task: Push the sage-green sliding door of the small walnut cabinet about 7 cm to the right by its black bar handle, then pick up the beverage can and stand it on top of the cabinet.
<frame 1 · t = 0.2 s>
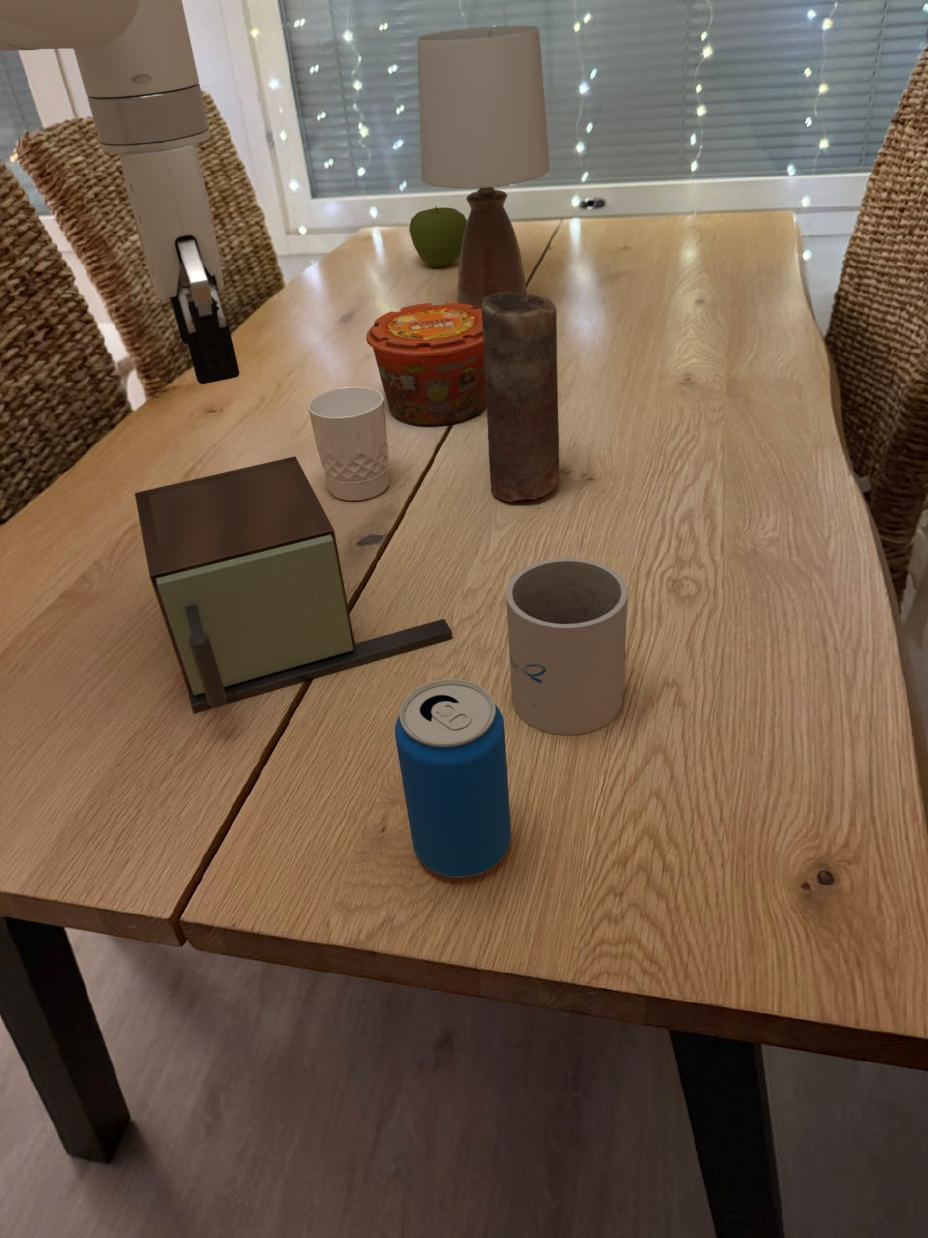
hand: (209, 358, 74), 22 cm above the table, tool pointing down, fingers open, 9 cm apart
apple: (441, 265, 167), on the table
white cup: (359, 488, 101), on the table
door: (267, 635, 70), point 6 cm above the table, slide at 0.0 cm
lamp: (492, 308, 146), on the table
candle: (525, 489, 98), on the table
cabinet: (259, 627, 82), on the table
beverage can: (462, 846, 61), on the table
mug: (562, 682, 73), on the table
food container: (439, 406, 117), on the table
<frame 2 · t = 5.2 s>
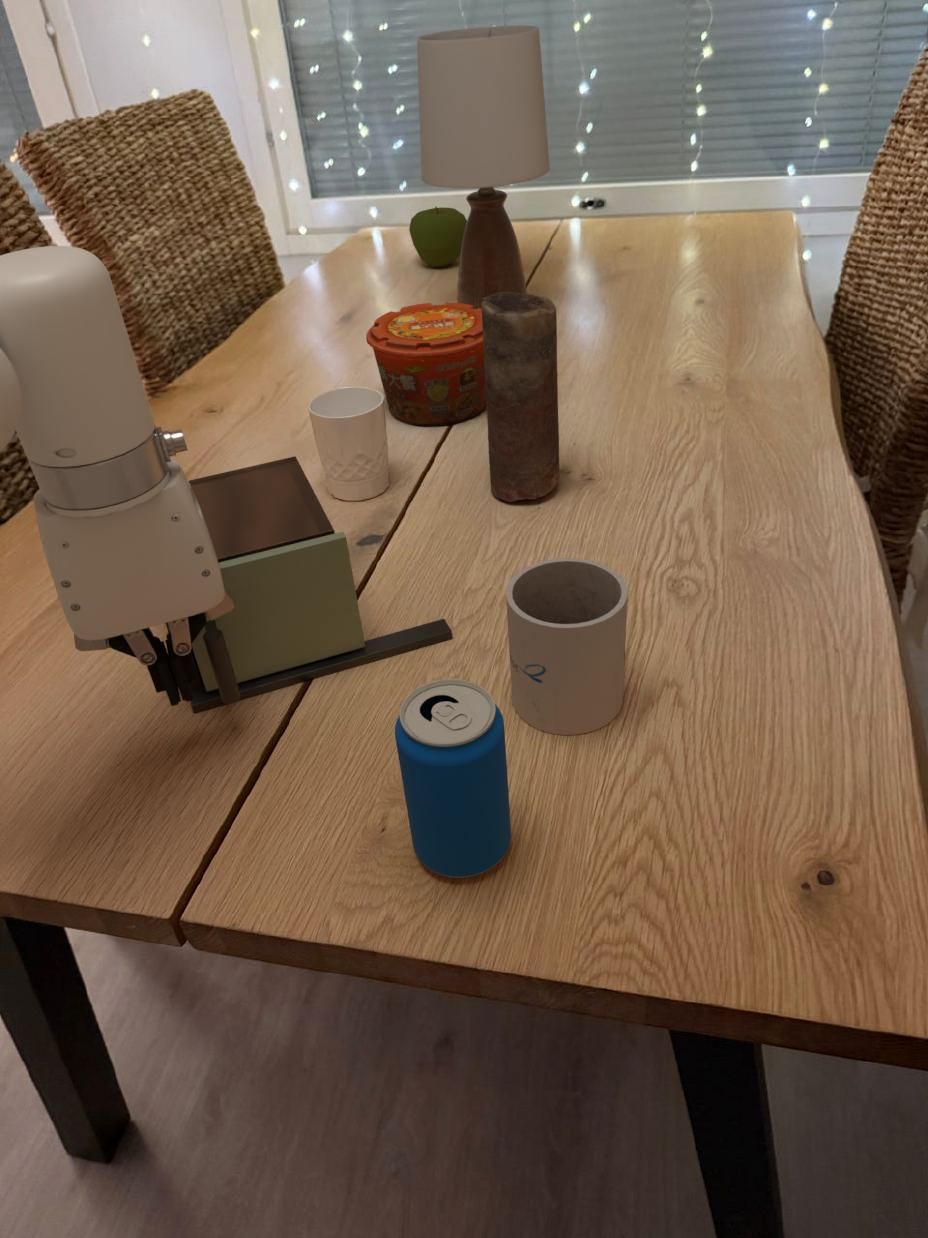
hand: (180, 691, 67), 5 cm above the table, tool pointing down, fingers closed
door: (280, 631, 70), point 6 cm above the table, slide at 1.0 cm, touching gripper
everything else where it was.
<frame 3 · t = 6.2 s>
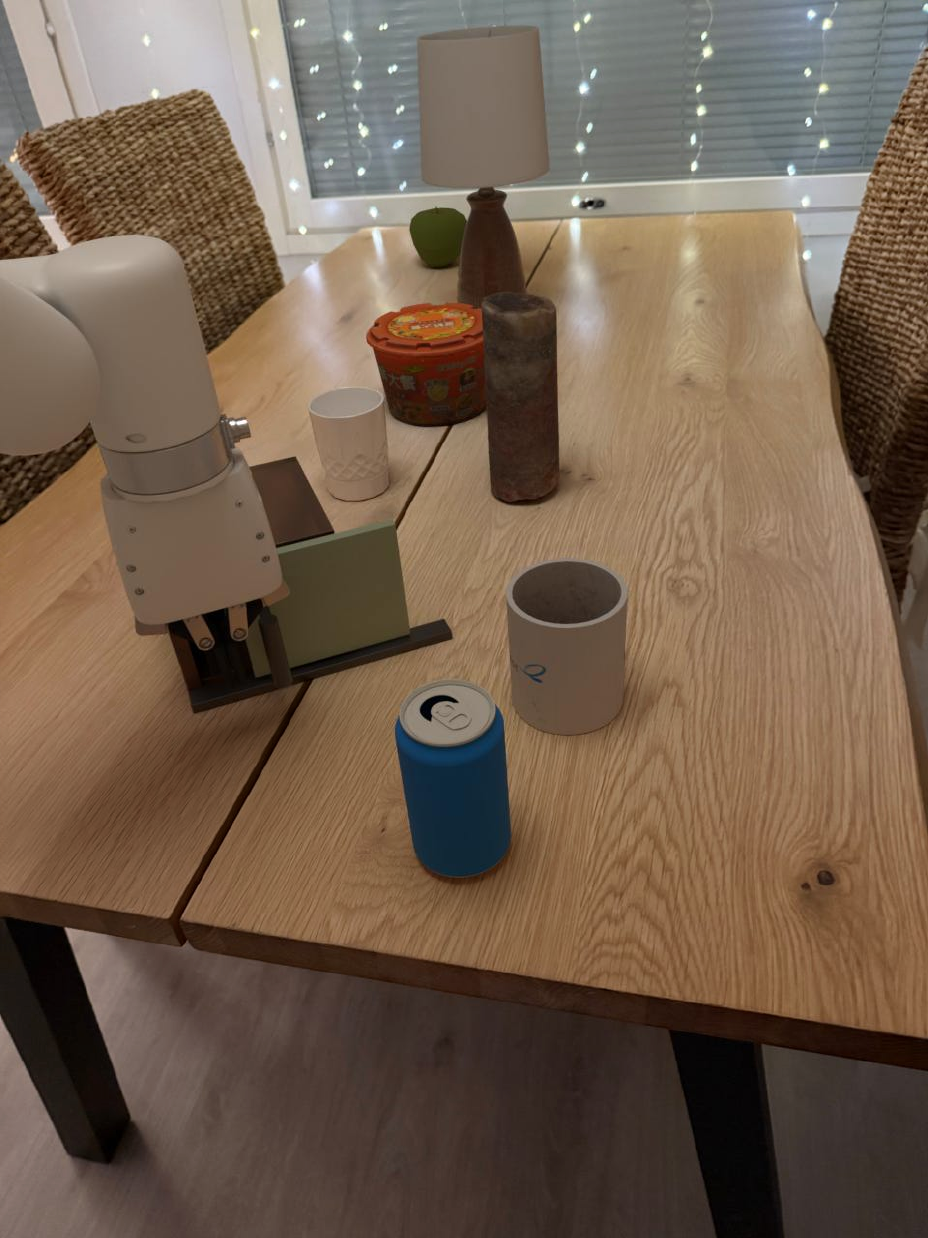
hand: (234, 676, 68), 5 cm above the table, tool pointing down, fingers closed
door: (330, 617, 71), point 6 cm above the table, slide at 5.0 cm, touching gripper
everything else where it was.
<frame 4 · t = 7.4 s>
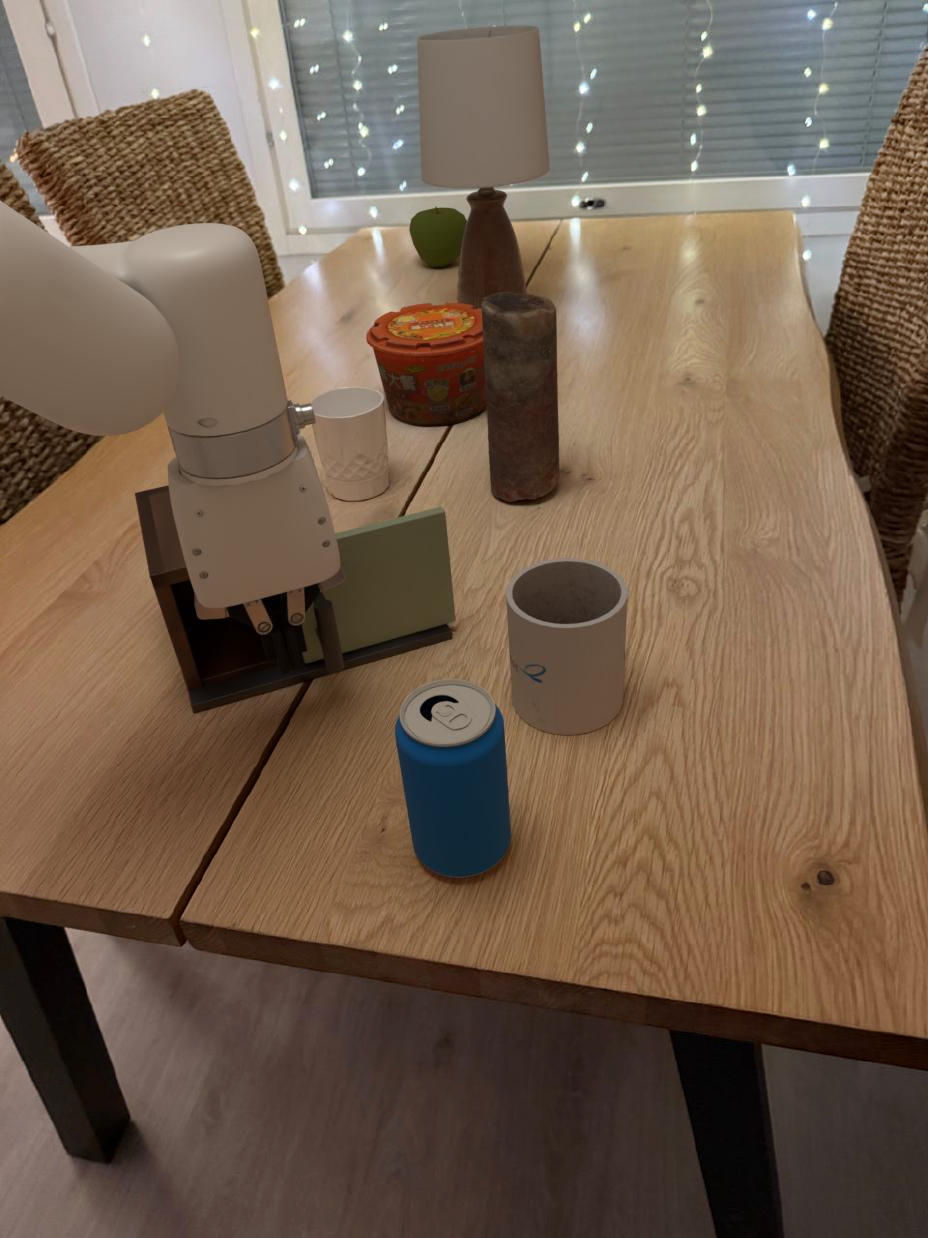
hand: (288, 661, 69), 5 cm above the table, tool pointing down, fingers closed
door: (381, 603, 72), point 6 cm above the table, slide at 9.1 cm, touching gripper
everything else where it was.
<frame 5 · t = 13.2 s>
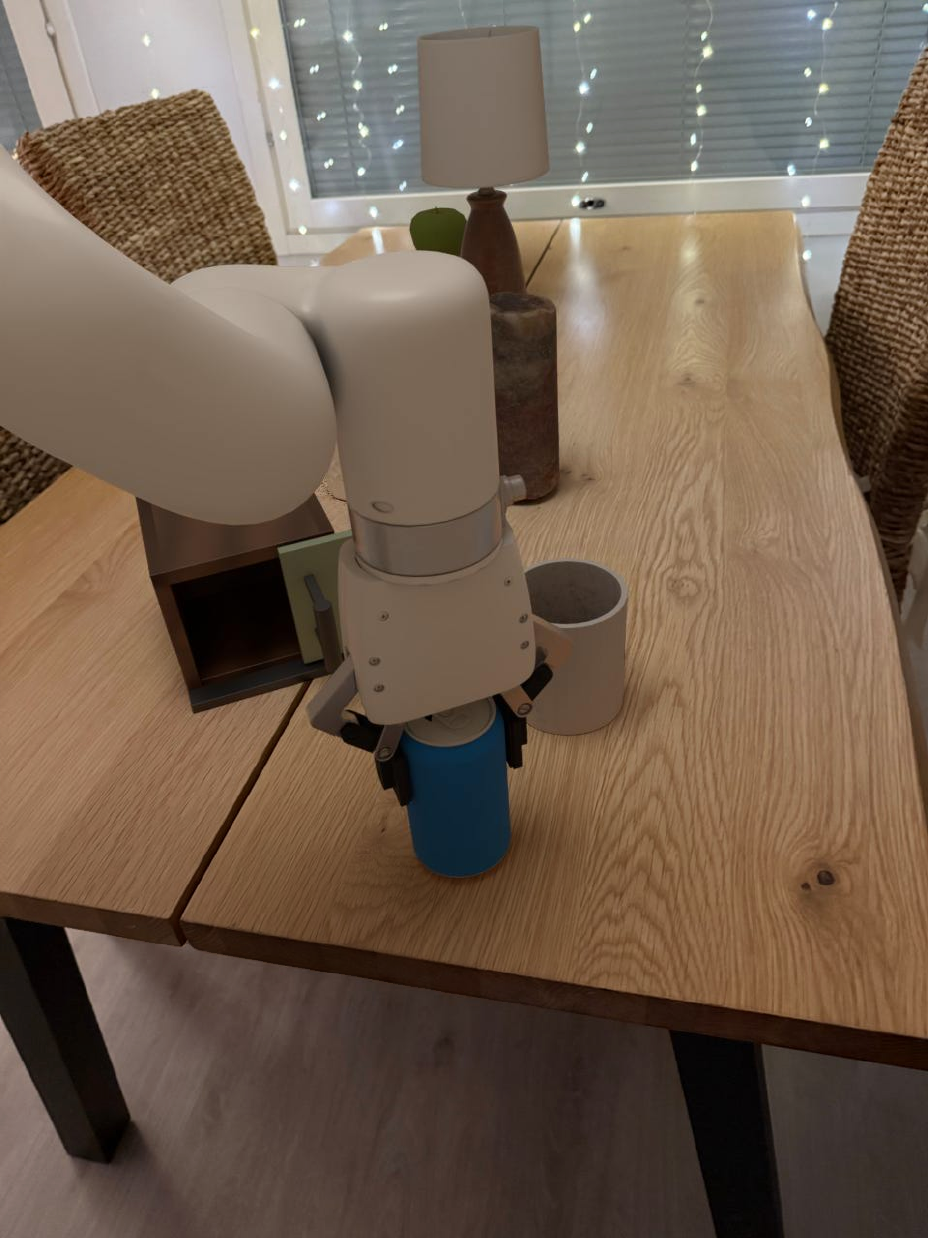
hand: (454, 769, 56), 7 cm above the table, tool pointing down, fingers closed on beverage can, 6 cm apart
door: (380, 603, 72), point 6 cm above the table, slide at 9.0 cm
beverage can: (462, 846, 61), on the table, touching gripper
everything else where it was.
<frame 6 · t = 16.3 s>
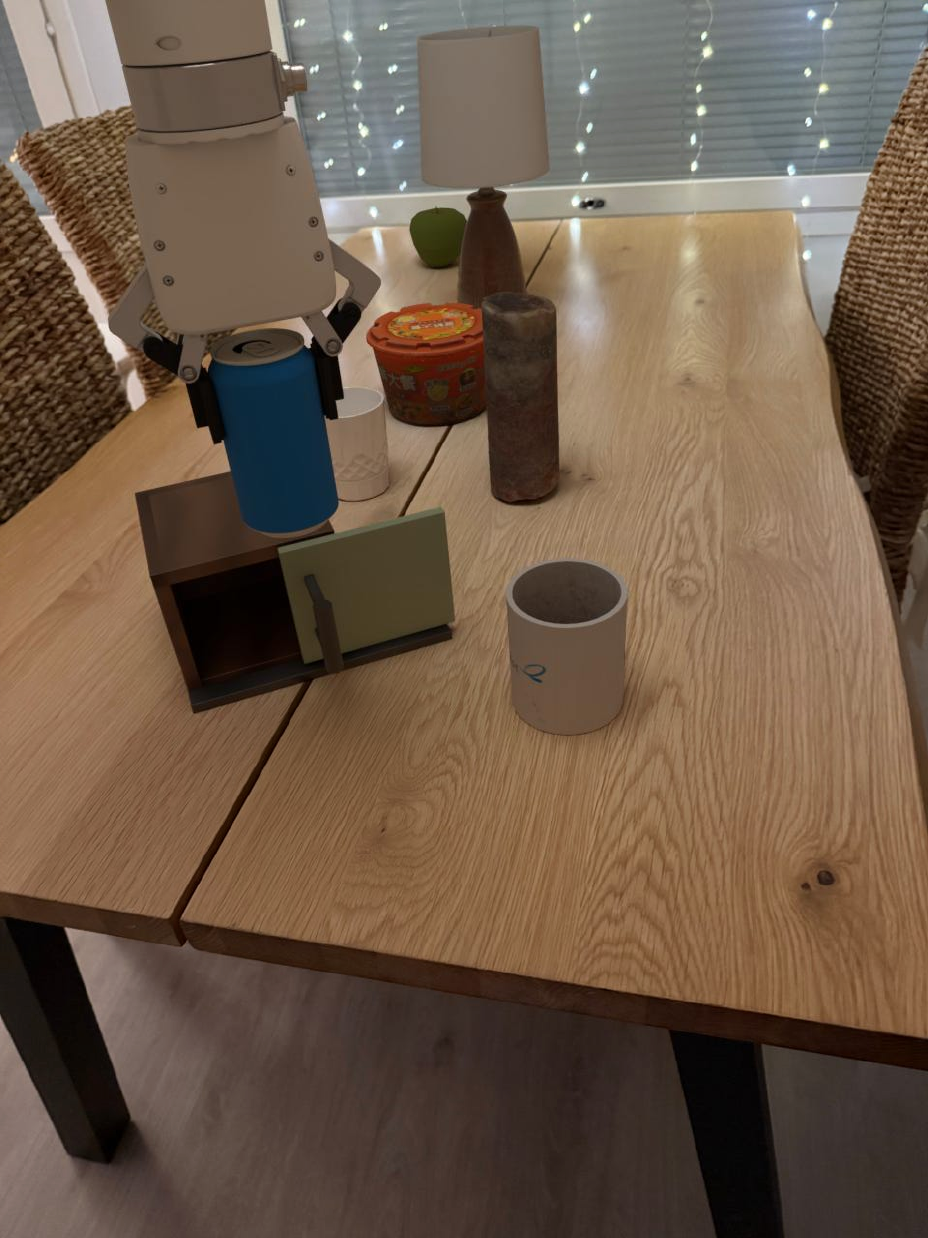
hand: (272, 421, 58), 24 cm above the table, tool pointing down, fingers closed on beverage can, 6 cm apart
beverage can: (293, 521, 62), point 17 cm above the table, touching gripper
everything else where it was.
when the fingers open (19 cm above the table, at t = 19.4 s): beverage can stays where it is, resting on cabinet.
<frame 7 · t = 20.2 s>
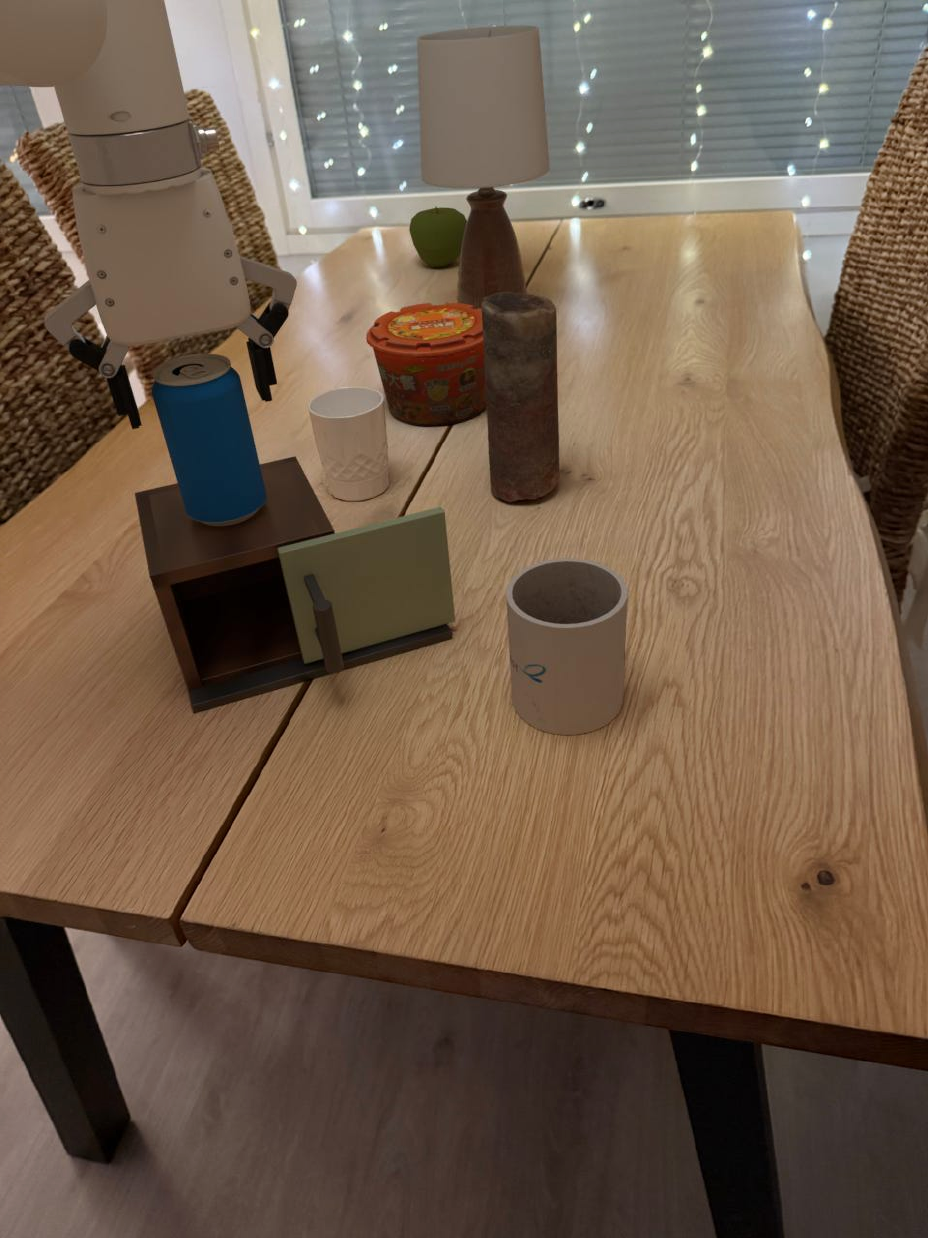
hand: (201, 408, 69), 21 cm above the table, tool pointing down, fingers open, 9 cm apart
beverage can: (229, 512, 75), point 12 cm above the table, touching cabinet
everything else where it was.
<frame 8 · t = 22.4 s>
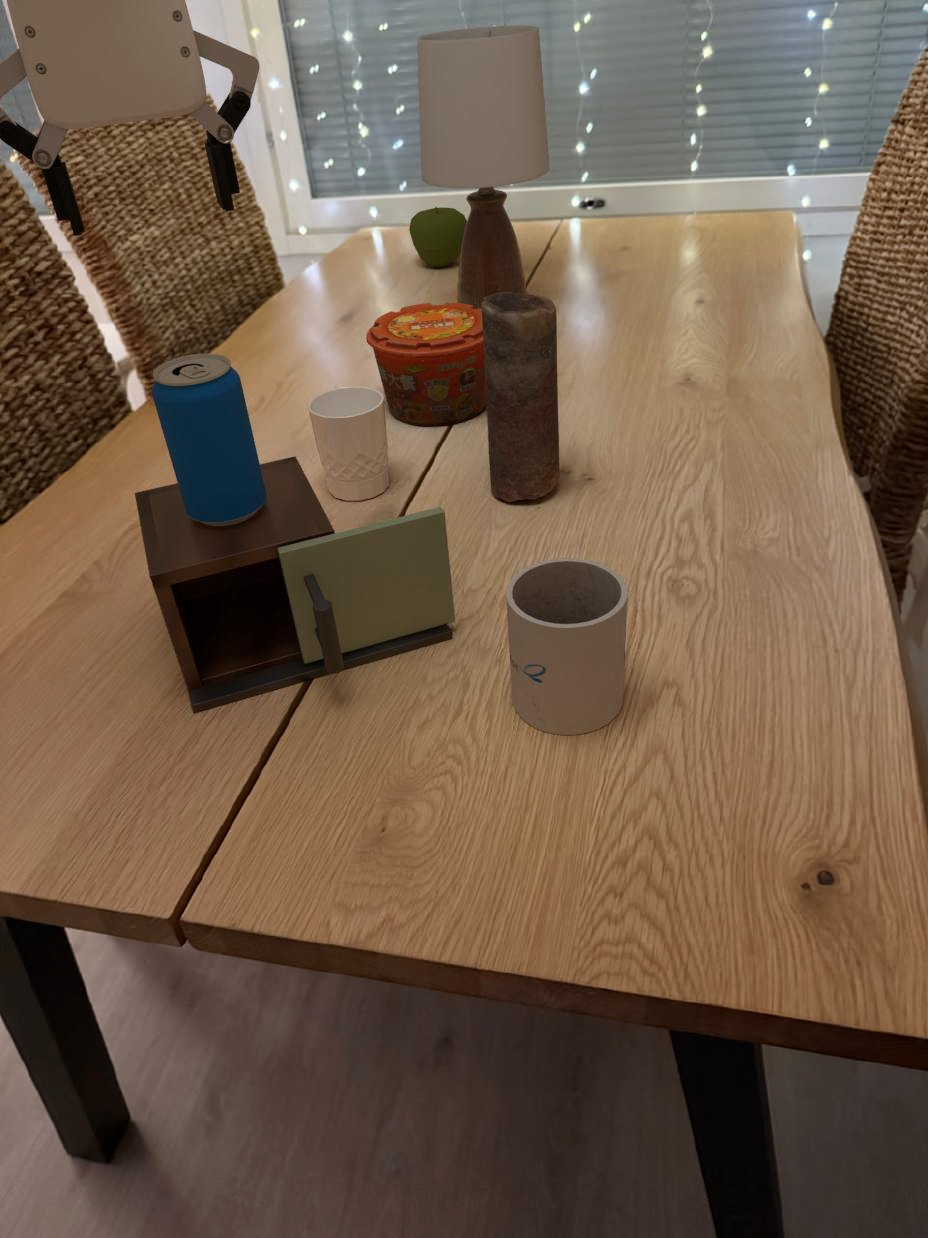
hand: (154, 218, 61), 34 cm above the table, tool pointing down, fingers open, 9 cm apart
nothing on the table moved.
at the end: door slide at 9.0 cm; beverage can inside the target area on the cabinet (0.1 cm from its centre), point 11.8 cm above the cabinet's base; beverage can tilted 0° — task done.
